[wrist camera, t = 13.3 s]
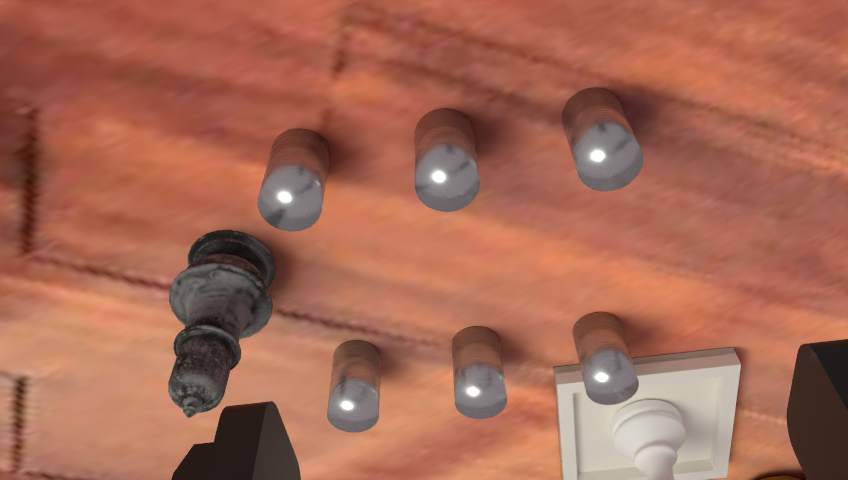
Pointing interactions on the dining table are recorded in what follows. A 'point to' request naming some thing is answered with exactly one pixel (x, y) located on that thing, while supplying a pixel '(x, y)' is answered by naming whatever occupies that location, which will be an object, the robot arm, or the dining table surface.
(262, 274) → the grey chess piece
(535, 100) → the dining table surface
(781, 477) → the bread roll
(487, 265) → the dining table surface
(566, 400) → the square tray
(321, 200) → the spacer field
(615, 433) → the chess pawn
